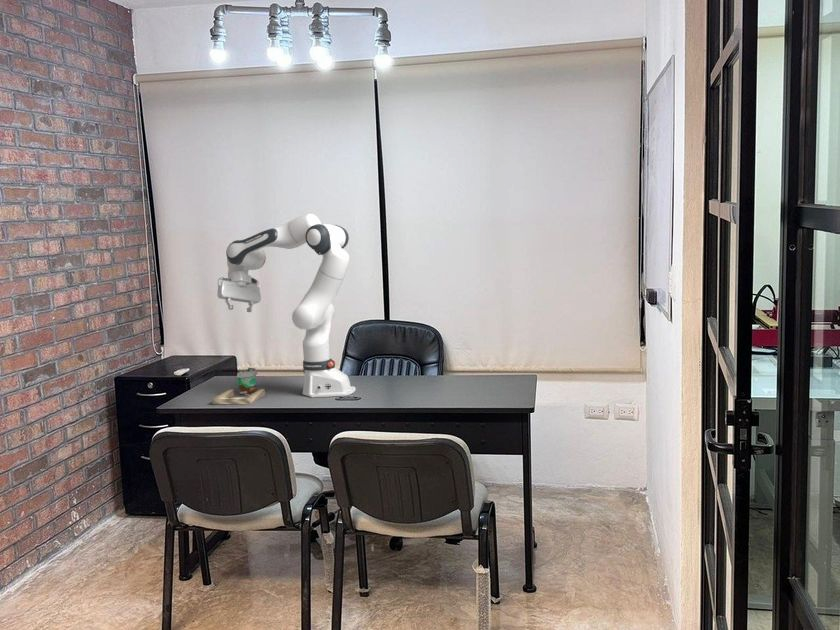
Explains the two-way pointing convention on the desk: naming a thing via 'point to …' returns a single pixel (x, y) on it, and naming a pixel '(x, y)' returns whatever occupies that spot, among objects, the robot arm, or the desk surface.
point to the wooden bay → (225, 398)
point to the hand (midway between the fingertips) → (240, 310)
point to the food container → (247, 381)
